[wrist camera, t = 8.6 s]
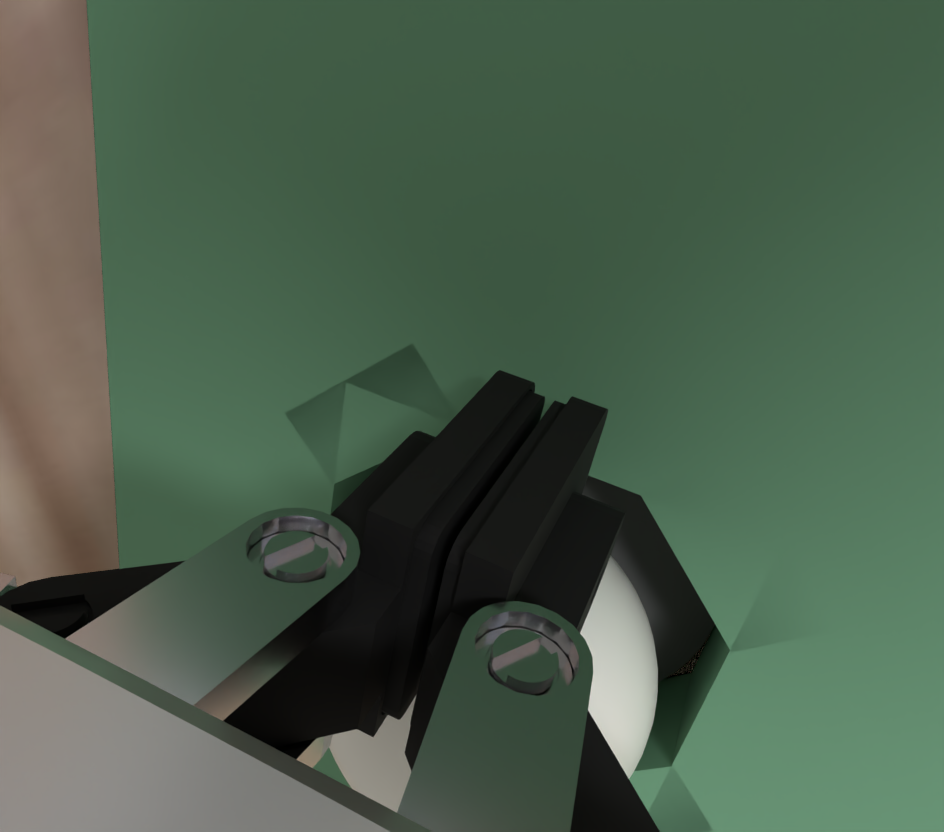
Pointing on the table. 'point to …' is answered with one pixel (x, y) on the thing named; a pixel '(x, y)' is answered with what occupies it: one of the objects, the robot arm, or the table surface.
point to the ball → (611, 706)
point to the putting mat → (571, 326)
